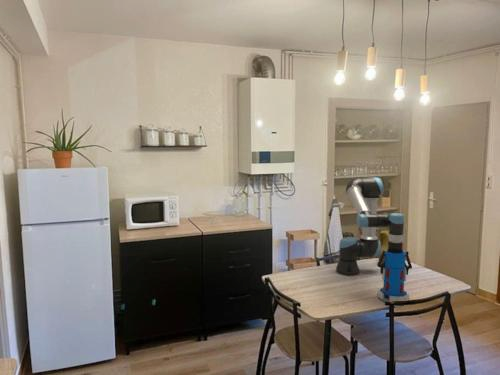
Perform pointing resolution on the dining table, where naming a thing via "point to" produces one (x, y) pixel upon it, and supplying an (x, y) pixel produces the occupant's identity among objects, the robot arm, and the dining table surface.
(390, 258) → the thermos
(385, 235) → the pitcher
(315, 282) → the dining table surface
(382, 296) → the bayonet base
